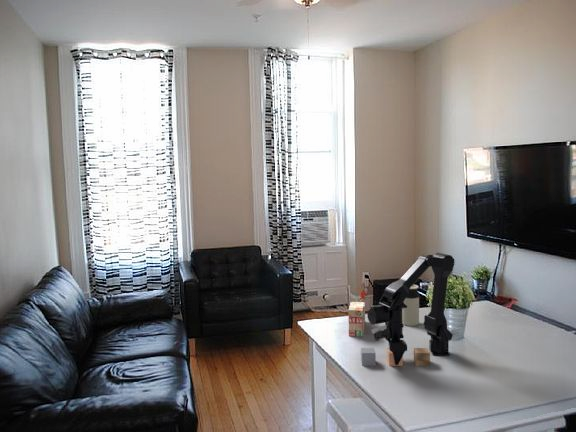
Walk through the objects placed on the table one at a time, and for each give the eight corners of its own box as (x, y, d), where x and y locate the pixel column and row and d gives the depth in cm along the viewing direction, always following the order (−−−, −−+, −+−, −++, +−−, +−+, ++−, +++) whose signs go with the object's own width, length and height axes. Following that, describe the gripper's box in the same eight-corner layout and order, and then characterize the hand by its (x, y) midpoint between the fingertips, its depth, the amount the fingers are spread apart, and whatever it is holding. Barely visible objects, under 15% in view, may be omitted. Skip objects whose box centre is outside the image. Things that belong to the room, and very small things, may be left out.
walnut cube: (427, 360, 182) (427, 347, 182) (429, 365, 177) (429, 353, 177) (413, 360, 183) (413, 347, 182) (416, 365, 178) (416, 353, 177)
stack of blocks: (352, 321, 231) (351, 296, 230) (365, 321, 230) (365, 296, 228) (348, 336, 210) (348, 309, 209) (363, 337, 209) (362, 309, 208)
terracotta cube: (400, 360, 183) (400, 347, 183) (402, 365, 178) (402, 353, 178) (387, 360, 183) (387, 347, 183) (389, 365, 178) (389, 353, 178)
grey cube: (374, 360, 184) (373, 347, 183) (375, 365, 179) (375, 353, 178) (361, 360, 184) (360, 348, 184) (362, 365, 179) (362, 353, 179)
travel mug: (422, 324, 222) (422, 287, 220) (408, 327, 219) (408, 289, 217) (412, 319, 230) (412, 283, 228) (398, 322, 227) (398, 285, 225)
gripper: (370, 312, 189) (370, 350, 190) (375, 328, 170) (376, 370, 172) (398, 312, 188) (399, 350, 190) (407, 328, 170) (407, 370, 171)
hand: (394, 360), depth 181 cm, fingers open, 8 cm apart
